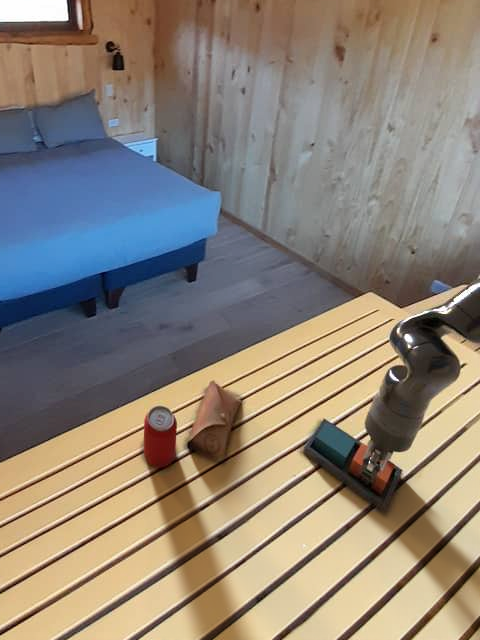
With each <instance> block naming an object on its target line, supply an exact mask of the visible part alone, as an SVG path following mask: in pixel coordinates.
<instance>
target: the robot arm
mask: <svg viewBox="0 0 480 640" xmlns="http://www.w3.org/2000/svg"><path fill="white" fill-rule="evenodd" d="M451 334H457V335H458V336H459V337H461V338H462V339H464V340H466V341H467V342H470V343H472V344H475V345H476V344H477V345H480V277H478V278H476V279H475V280H473V281H472V282H470V283H469V284H468V285H466V286H465V287H463V289H461V290H460V291H458V292H457V293H456V294H455V295H453V296H452V297H451V298H449V299H447V301H445V302H443V303H441V304H439V305H436V306H433V307H432V308H429V309H426V310H424V311H421V312H419V313H416V314H414V315H411V316H409V317H406V318H404V319H402V320H401V321H398V322H397V323H396V324H395V325H394V326H393V328H392V329H391V331H390V333H389V338H388V340H389V344H390V346H391V348H392V349H393V351H394V352H395V353H396V355H397V357H398V358H399V359H400V361H401V362H402V363H403V364H396V365H392V366H391V367H389V368H388V369H387V370H386V372H385V373H384V376H383V379H382V381H381V383H380V386H379V389H378V391H377V392H376V393H375V395H374V396H373V399H372V402H371V404H370V407H369V410H368V411H367V414H366V416H365V419H364V428H365V431H366V433H367V435H368V436H369V439H368V441H367V444H366V446H368V448H367V450H366V452H365V454H364V456H363V458H364V459H363V464H362V467H361V469H360V470H359V474H360V476H359V480H360V481H361V482H362V483H363V484H365V485H366V486H368V487H371V485H372V483H373V482H375V478H376V477H377V476H378V475H377V474H378V472H379V471H380V470H381V471H382V470H383V469H384V467H385V465H386V463H387V461H388V460H389V461H391V459H392V456H393V454H394V453H404V452H407V451H409V450H410V448H411V447H412V445H413V443H414V441H415V440H416V437H417V435H418V433H419V431H420V429H421V427H422V425H423V422H424V418H425V415H426V412H427V410H428V408H429V406H430V404H431V402H432V400H434V399H435V398H436V397H437V396H438V395H439V394H441V393H442V392H443V391H444V390H446V389H447V388H448V387H451V385H452V384H454V383H455V382H456V381H457V380H458V379H459V377H460V374H461V370H462V369H461V368H462V366H461V361H460V358H459V357H458V355H457V354H456V353H455V351H453V349H452V348H451V347H450V346H449V344H448V343H447V342H446V341H445V340H444V339H443V337H444V336H446V335H447V336H448V335H451ZM369 452H370V453H371V455H372V456H370V454H369ZM384 458H385V459H384ZM383 459H384V461H383V462H379V461H382V460H383ZM378 460H379V461H378Z"/></svg>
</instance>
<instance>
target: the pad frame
mask: <svg viewBox="0 0 480 640" xmlns="http://www.w3.org/2000/svg"><path fill="white" fill-rule="evenodd" d="M326 422H327V423H328V424H330V425H331V426H333V427H335V428H336V429H338V430H339V431H341V432H342V433H344V434H345V435H347V436H348V437H350V438H351V439H353V440H354V441H355V445H354V447H353V450H352V452H351V454H350V456H349V458H348V459H347V461H346V463H345V465H344V466H343V468H342V469H340V468H339V467H337V466H336V465H335V464H333V463H332V462H330V461H329V460H328V459H326V458H325V457H324V456H322V455H321V454H319V453H318V452H317V451H315V450H314V449H313V446H314V443H315V440H316V437H317V436H318V434H319V433H320V431H321V430H322V428H323V427H324V425H325V424H326ZM362 443H363V442H361V441H360V440H358V439H357V438H355V437H354V436H352V435H351V434H349V433H348V432H346V431H344V430H343V429H341V428H340V427H338V426H337V425H335V424H334V423H332V422H331V421H329V420H328V419H326V418H323V419H322V420H321V422H320V423H319V424H318V426H317V427H316V429H315V431H314V432H313V434H312V435H311V437H310V438H309V439H308V441H307V442H306V443H305V445H304V448H303V450H302V453H303V454H304V455H306V456H307V457H308V458H309V459H311V460H312V461H313V462H315V463H316V464H317V465H319V466H320V467H321V468H323V469H324V470H325V471H327V472H328V473H329V474H331V475H332V476H334V477H335V478H337V479H338V480H339V481H340V482H342V483H343V484H344V485H346V486H347V487H349V488H350V489H351V490H353V491H354V492H355V493H357V494H358V495H359V496H360V497H362V498H363V499H365V501H367V502H369V503H370V504H372V505H373V506H374V507H376V508H377V509H378V510H380V511H381V512H382V513H385V511H386V509H387V507H388V505H389V503H390V500H391V498H392V496H393V493H394V491H395V489H396V487H397V484H398V482H399V480H400V478H401V475H402V473H403V471H404V470H403V469H402V468H400V467H399V466H397V465H396V464H395V466H394V468H393V470H392V473H391V475H390V477H389V479H388V481H387V483H386V485H385V487H384V490H383V492H382V494H379V493H378V492H376V491H375V490H374V489H372V488H371V487H368V486H366V485H365V484H363V483H362V482H361V481H360V480H359V479H358V478H357V477H356V476H354V475H353V474H351V473H350V472H349V468H350V466H351V463H352V461H353V459H354V457H355V455H356V453H357V451H358V450H359V448H360V446H361V444H362Z"/></svg>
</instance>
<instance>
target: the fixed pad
mask: <svg viewBox="0 0 480 640" xmlns="http://www.w3.org/2000/svg"><path fill="white" fill-rule="evenodd" d="M354 445H355V441H354V440H353V439H351V438H350V437H348V436H347V435H345V434H344V433H342V432H341V431H339V430H338V429H336V428H335V427H333V426H331V425H330V424H328V423H327V422H326V424H325V425H324V427H323V428H322V430H321V431H320V433H319V434H318V436H317V437H316V440H315V443H314V446H313V449H314V450H315V451H317V452H318V453H319V454H321V455H322V456H324V457H325V458H326V459H328V460H329V461H330V462H332V463H333V464H335V465H336V466H337V467H339V468H340V469H342V468H343V466H344V465H345V463H346V461H347V459H348V458H349V456H350V454H351V452H352V450H353V447H354Z"/></svg>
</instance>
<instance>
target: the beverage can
mask: <svg viewBox="0 0 480 640" xmlns="http://www.w3.org/2000/svg"><path fill="white" fill-rule="evenodd" d="M177 431H178V421H177V418H176V417H175V415H174V413H173V411H171V409H170V408H168V407H166V406H163V405H157V406H153V407H152V408H151V409H149V411H148V412H146V415H145V416H144V420H143V454H144V457H145V459H146V461H147V462H148V464H150V465H151V466H153V467H157V468H165V467H167V466H170V464H171V463H173V461H174V459H175V456H176V446H177Z"/></svg>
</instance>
